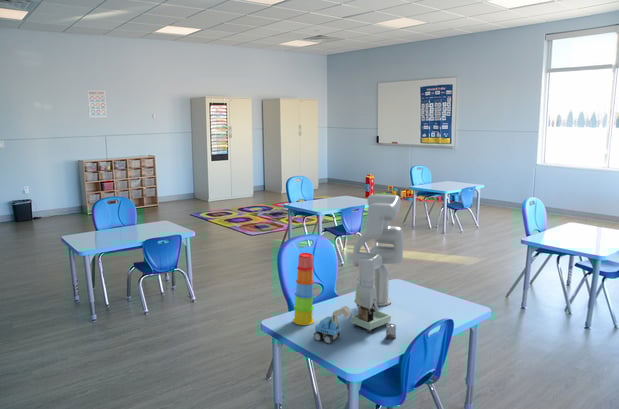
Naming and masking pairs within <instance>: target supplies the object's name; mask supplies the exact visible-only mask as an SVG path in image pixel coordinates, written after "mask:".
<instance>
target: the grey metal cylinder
mask: <svg viewBox="0 0 619 409" xmlns="http://www.w3.org/2000/svg"><path fill="white" fill-rule="evenodd" d="M385 327H386V328H385V338H386V339H387V340H389V339H390V340H392V341H394V340H395V339H397V336H396V335H397V334H396V333H397V325H396V324H395V323H391V322H388V324H387V325H385Z"/></svg>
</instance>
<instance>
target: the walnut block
mask: <svg viewBox="0 0 619 409" xmlns="http://www.w3.org/2000/svg"><path fill="white" fill-rule="evenodd" d="M370 309H371V308H370ZM358 314H359V319H361V320H363V321H366V322H368V314H369V312H368V308H365V307H361V308H359V310H358ZM372 321H373V320H372Z"/></svg>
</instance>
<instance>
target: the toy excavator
mask: <svg viewBox="0 0 619 409" xmlns="http://www.w3.org/2000/svg"><path fill="white" fill-rule="evenodd" d="M341 315H343V317H344V319H347V318H349V317H350V316H351V309H350V307H348V306H346V305H344V306H342V307H340V309H337V310H334V311H333V312H332V315H331V316H326V317H324V318H323V319H322V320H320V321H319V322H318V323H317V324H316V325H315V326H314V330H315V332H314V333H313V339H314V340H315V341H321V340H323V342H324V343H326V344H327V345H330V344H332V343H333V342H334V340H336V339H337V338H339V337H340V336H341V334H340V333H341V330H342V329H341V326H340V322H339V321H338V317H339V316H341Z"/></svg>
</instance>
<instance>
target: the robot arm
mask: <svg viewBox="0 0 619 409" xmlns="http://www.w3.org/2000/svg"><path fill="white" fill-rule="evenodd" d="M366 200H367V205H368V207H367V213H366V220H365V222H366V223H365V227H364V228H365V229H364V232H363V233H362V234H361V235H360V236H358V239H356V240H355V243H354V245H353V250H352V258H351V261H352V262H351V263H352V266H354V267H355V268H358V278H357V281H358V283H357V285H356V288H355V299H354V303H355V304H356V306H357V310H358V311H359V308H361V307H365V308H368V312H369V314H368V322H370V321H372V320H373V313H374V312H375V311H376V310H378V311H379V307H385V306H389V305H390V304H392V299H391V298H390V297H389V291H390V290H389V287H390V286H389V284H390V283H389V282H390V281H389V279H390V276H389V275H390V274H389V273H390V271H389V269H388V267H387V265H393V266H394V265H395V266H396V265H401V264H402V262H403V254H404V232H403V229H402V228H401V227H399V226H390V221H392V222H393V221H395V220H396V219H397V217H398V214H399V212H400V210H401V205H402V200H401V198H400V196H398V195H396V194H375V193H374V194H369V196H368V197H367V199H366ZM371 240H372V241H374V242H375V243H376V244H385V245H374V246H372V247H371V248H370V249H369V252H367V251H366V252H364V251H361V248H362V246H363V245H364V244H365V243H367V242H369V241H371ZM388 245H389V246H388ZM390 245H393V246H390ZM370 308H371V309H370Z"/></svg>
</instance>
